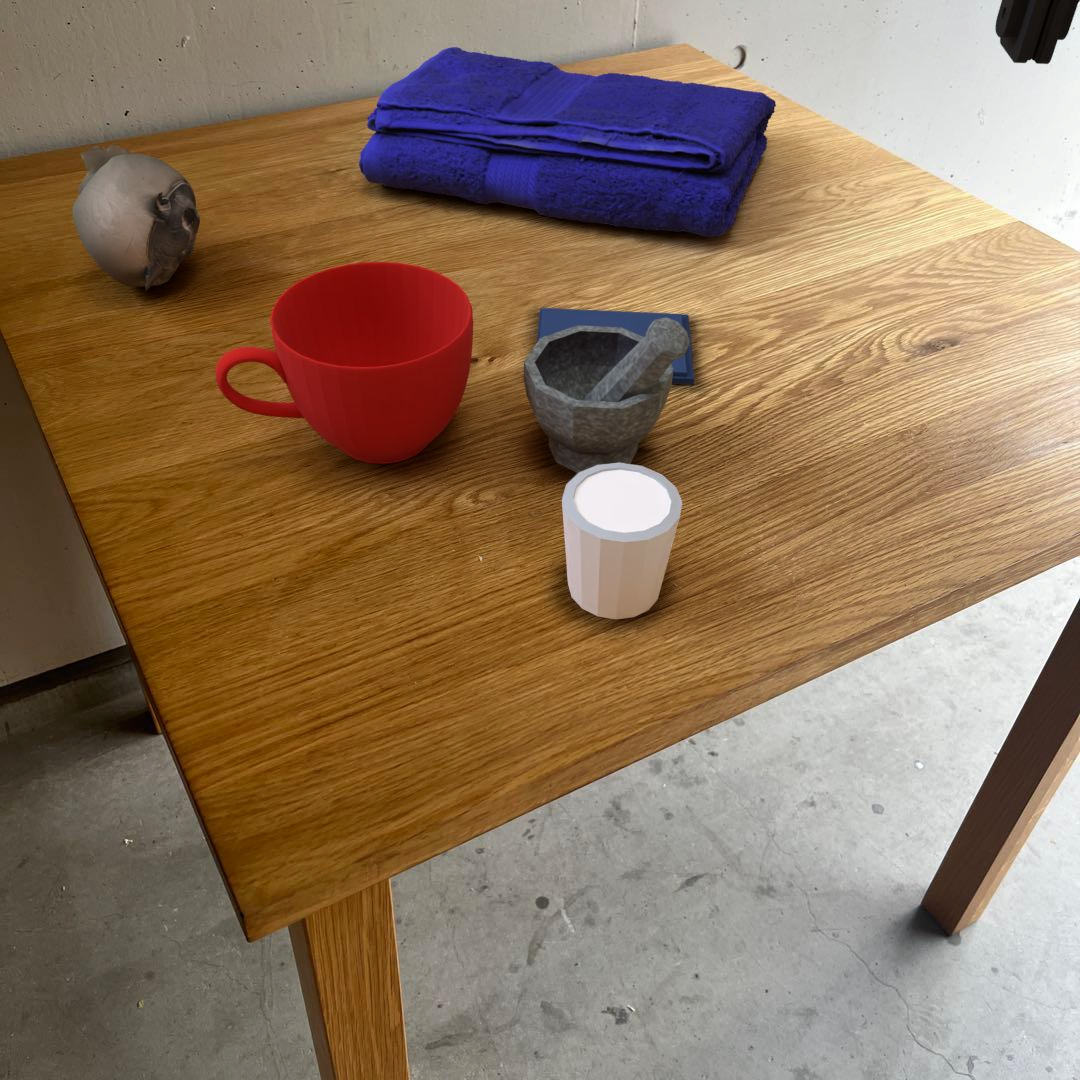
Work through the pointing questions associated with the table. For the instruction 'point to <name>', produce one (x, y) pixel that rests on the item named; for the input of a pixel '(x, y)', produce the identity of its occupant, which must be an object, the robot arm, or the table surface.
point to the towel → (570, 142)
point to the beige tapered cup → (618, 537)
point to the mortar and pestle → (601, 389)
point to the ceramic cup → (367, 357)
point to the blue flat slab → (631, 321)
